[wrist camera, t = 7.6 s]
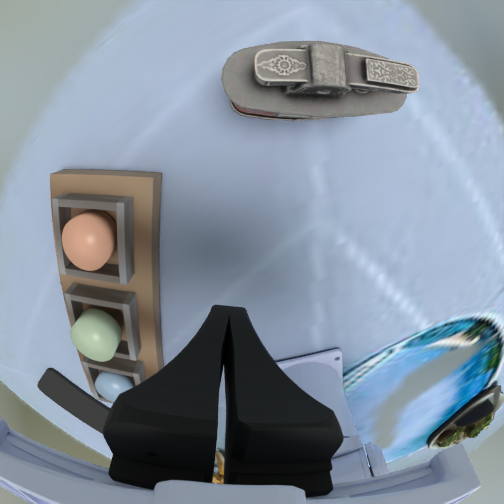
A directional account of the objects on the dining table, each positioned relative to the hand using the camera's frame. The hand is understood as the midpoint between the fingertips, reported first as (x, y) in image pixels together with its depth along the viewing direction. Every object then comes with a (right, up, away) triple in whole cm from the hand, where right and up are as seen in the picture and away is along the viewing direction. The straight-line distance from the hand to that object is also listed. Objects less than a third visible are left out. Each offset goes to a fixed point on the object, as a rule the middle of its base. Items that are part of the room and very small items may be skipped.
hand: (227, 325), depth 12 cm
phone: (-20, -17, +18) cm, 32 cm away
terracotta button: (-9, +4, +6) cm, 12 cm away
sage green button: (-10, -3, +7) cm, 13 cm away
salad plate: (+41, -27, +24) cm, 55 cm away
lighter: (+4, +13, +5) cm, 14 cm away
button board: (-10, -1, +10) cm, 15 cm away
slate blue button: (-11, -9, +11) cm, 18 cm away
